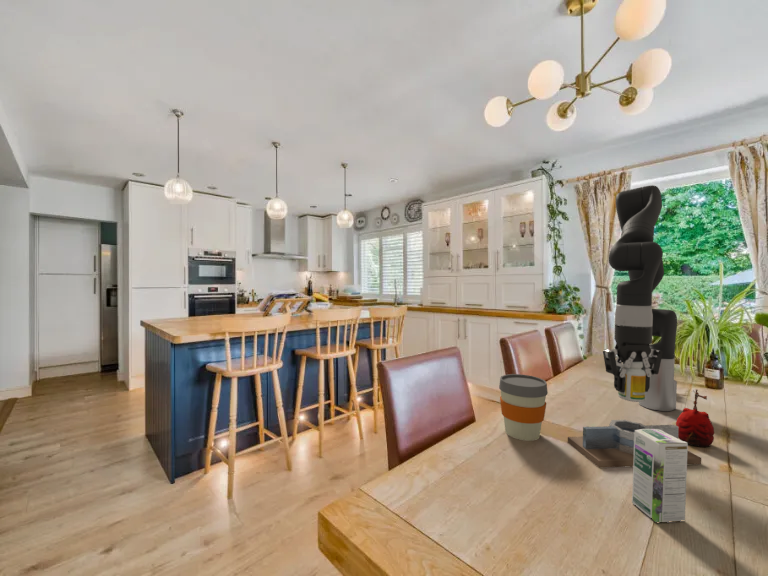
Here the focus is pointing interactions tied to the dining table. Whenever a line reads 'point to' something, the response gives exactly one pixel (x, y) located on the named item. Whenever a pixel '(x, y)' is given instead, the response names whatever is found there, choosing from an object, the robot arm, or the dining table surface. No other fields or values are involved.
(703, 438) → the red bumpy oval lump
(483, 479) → the dining table surface
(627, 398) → the supplement bottle
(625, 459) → the board
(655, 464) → the syrup box
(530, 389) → the reusable coffee cup
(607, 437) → the grey winged octagonal holder
